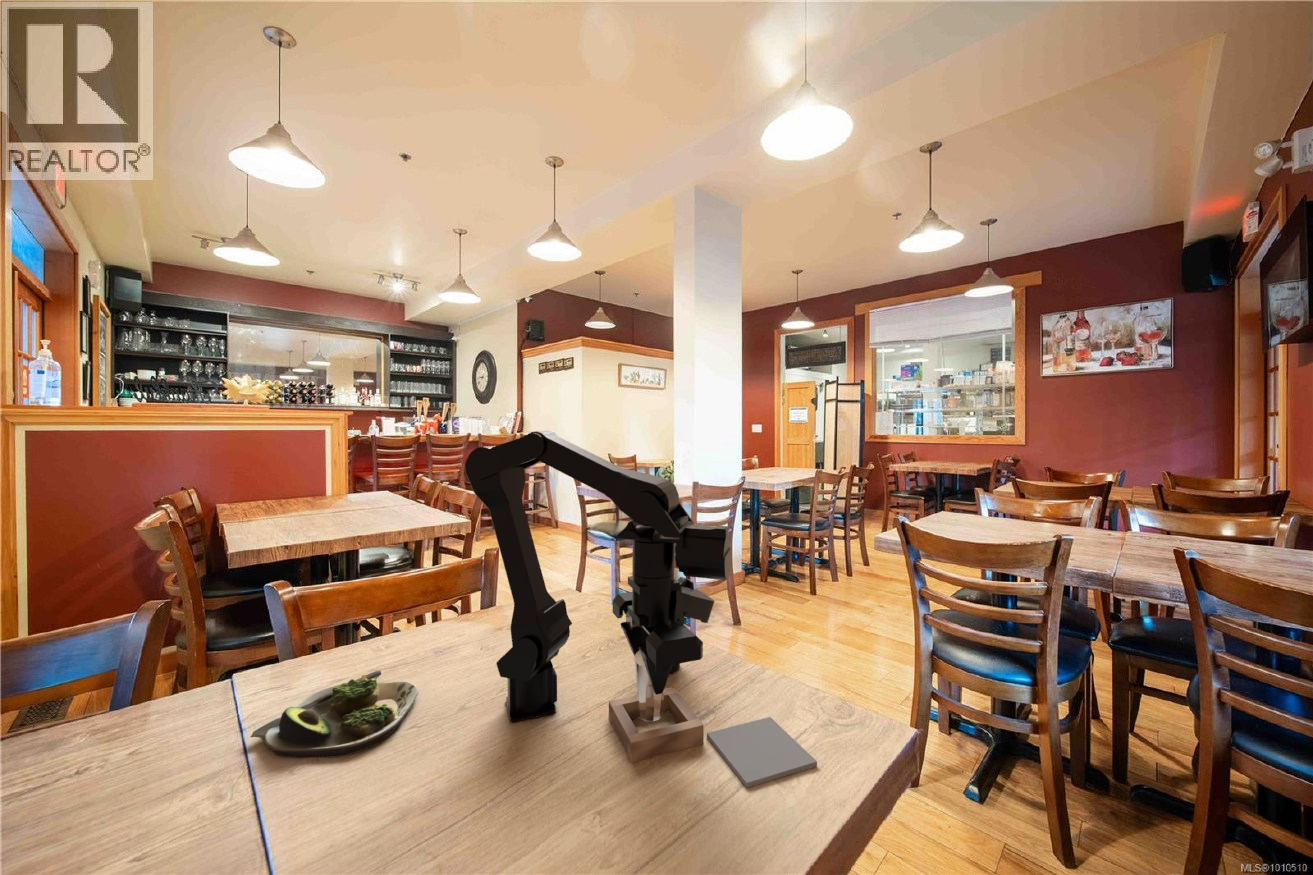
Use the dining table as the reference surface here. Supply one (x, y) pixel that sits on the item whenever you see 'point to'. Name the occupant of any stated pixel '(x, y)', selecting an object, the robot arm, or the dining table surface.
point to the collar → (660, 739)
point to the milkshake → (646, 693)
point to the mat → (760, 751)
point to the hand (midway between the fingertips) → (652, 685)
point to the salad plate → (339, 719)
